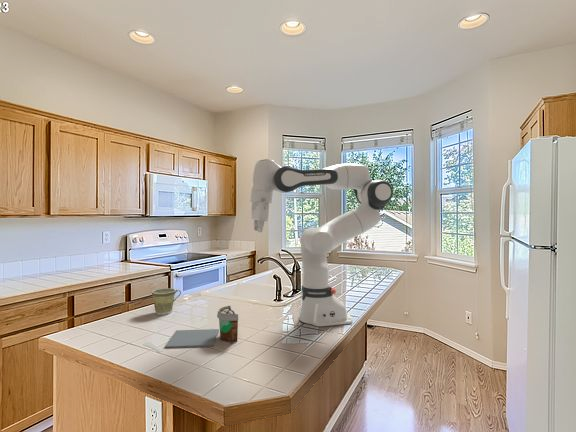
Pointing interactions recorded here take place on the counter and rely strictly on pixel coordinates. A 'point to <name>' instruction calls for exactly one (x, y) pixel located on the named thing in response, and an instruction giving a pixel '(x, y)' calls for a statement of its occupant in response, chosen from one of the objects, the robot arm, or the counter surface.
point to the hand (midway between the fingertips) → (257, 231)
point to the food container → (228, 324)
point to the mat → (192, 338)
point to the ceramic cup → (164, 300)
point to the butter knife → (152, 346)
